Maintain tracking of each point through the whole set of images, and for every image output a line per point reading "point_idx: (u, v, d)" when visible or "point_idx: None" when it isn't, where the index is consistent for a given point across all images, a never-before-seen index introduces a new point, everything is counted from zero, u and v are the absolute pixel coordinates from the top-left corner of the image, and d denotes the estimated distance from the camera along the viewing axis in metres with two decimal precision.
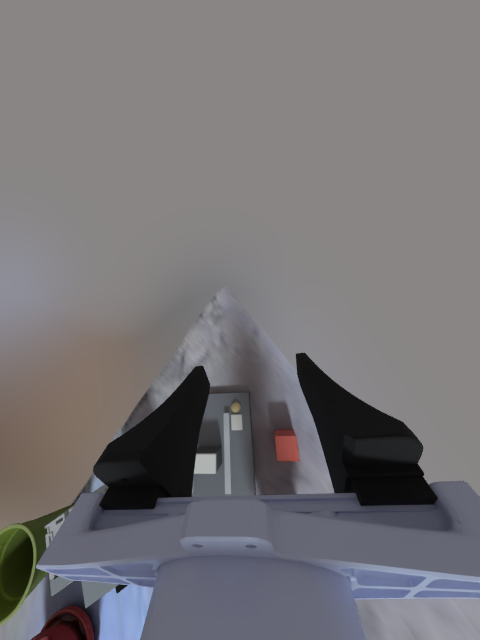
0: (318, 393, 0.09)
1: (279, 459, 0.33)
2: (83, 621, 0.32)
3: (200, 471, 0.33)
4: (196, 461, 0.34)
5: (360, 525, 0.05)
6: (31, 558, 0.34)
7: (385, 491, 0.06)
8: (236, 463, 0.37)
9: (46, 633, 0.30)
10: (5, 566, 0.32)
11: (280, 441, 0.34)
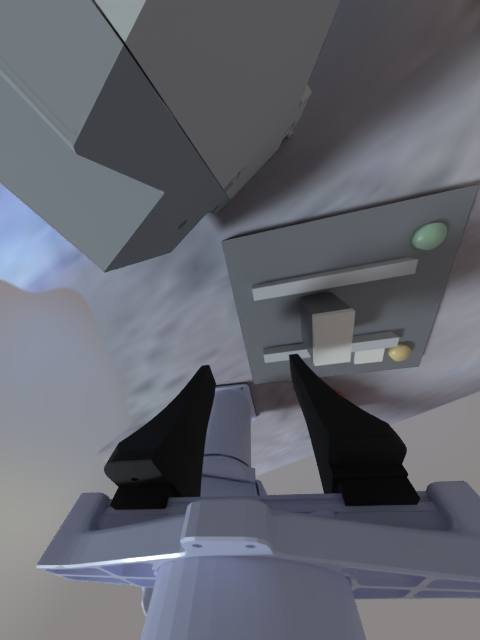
0: (308, 394, 0.09)
1: None
2: None
3: (318, 338, 0.15)
4: (338, 326, 0.14)
5: (360, 525, 0.05)
6: None
7: (369, 491, 0.06)
8: (302, 358, 0.21)
9: None
10: None
11: None
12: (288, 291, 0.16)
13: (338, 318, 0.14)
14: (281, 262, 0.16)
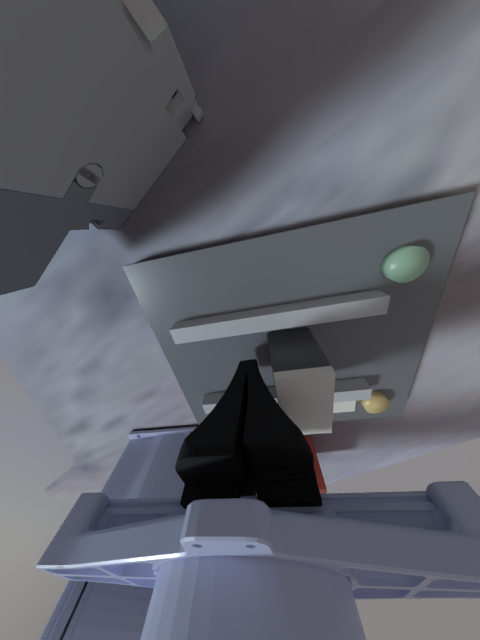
0: (248, 400, 0.09)
1: None
2: None
3: (284, 405, 0.10)
4: (312, 391, 0.09)
5: (360, 525, 0.05)
6: None
7: (280, 494, 0.06)
8: None
9: None
10: None
11: None
12: (218, 333, 0.12)
13: (311, 382, 0.09)
14: (208, 294, 0.12)
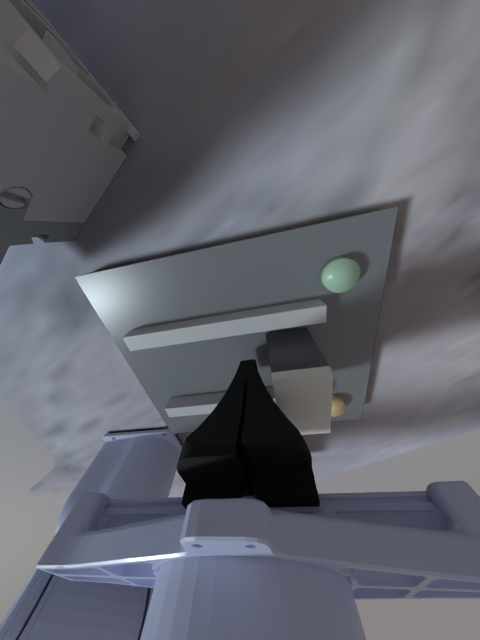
0: (246, 400, 0.09)
1: None
2: None
3: (282, 405, 0.10)
4: (310, 392, 0.09)
5: (360, 525, 0.05)
6: None
7: (277, 494, 0.06)
8: None
9: None
10: None
11: None
12: (169, 340, 0.13)
13: (309, 382, 0.09)
14: (160, 303, 0.13)
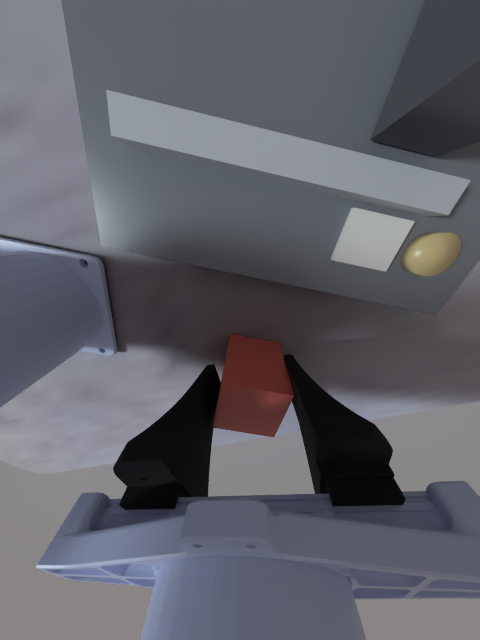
0: (299, 395, 0.09)
1: (225, 389, 0.10)
2: None
3: None
4: None
5: (360, 525, 0.05)
6: None
7: (356, 492, 0.06)
8: (225, 198, 0.09)
9: None
10: None
11: (273, 404, 0.10)
12: None
13: None
14: None
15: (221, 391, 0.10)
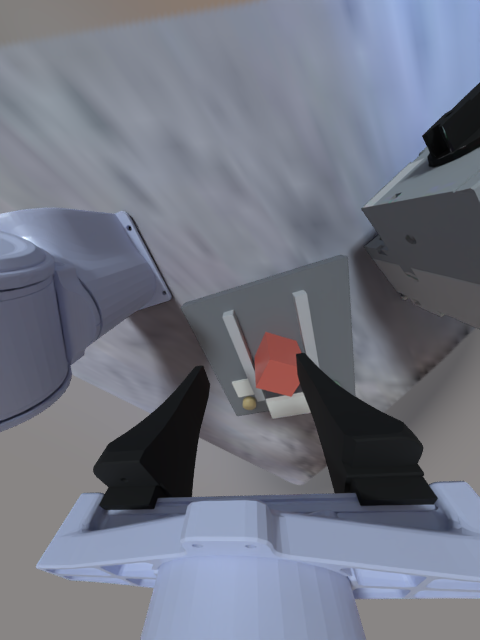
0: (318, 393, 0.09)
1: (270, 363, 0.17)
2: None
3: (292, 399, 0.20)
4: (302, 407, 0.20)
5: (360, 525, 0.05)
6: None
7: (385, 491, 0.06)
8: (228, 345, 0.22)
9: None
10: None
11: (295, 374, 0.17)
12: (303, 323, 0.19)
13: None
14: (323, 311, 0.20)
15: (268, 364, 0.17)
